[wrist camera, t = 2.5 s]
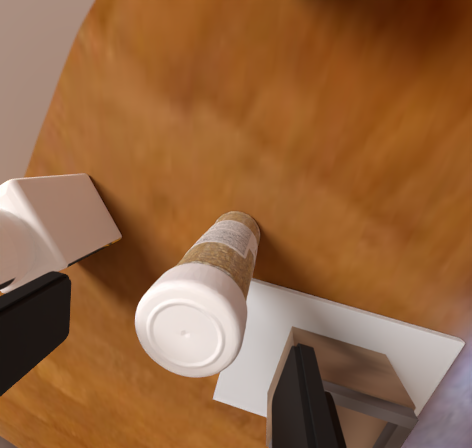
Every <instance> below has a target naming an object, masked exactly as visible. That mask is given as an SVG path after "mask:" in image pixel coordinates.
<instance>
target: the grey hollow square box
mask: <svg viewBox="0 0 472 448" xmlns="http://www.w3.org/2000/svg"><path fill="white" fill-rule="evenodd" d="M298 343H300V344H304V345H307V346H310V347H313V348H314V351H315V355H316V359H317V363H318V367H319V371H320V375H321V379H322V383H323V387H324V391H327V392H330V393H331V395H332V397H333V400H334V403H335V406H336V410H337V414H338V417H339V421H340V425H341V428H342V432H343V436H344V439H345V443H346V446H347V448H400V447H401V446H402V444H403V443H404V441H405V440H406V438H407V437H408V435H409V434H410V432H411V431H412V429H413V428H414V426H415V425H416V423H417V422H418V418H417V416H416V415H415V413H414V410H415V409H416V407H415V405H414V403H413V401H412V400H411V398H410V396H409V394H408V393H407V391H406V389H405V387H404V386H403V384H402V382H401V380H400V379H399V377H398V375H397V373H396V372H395V370H394V368H393V366H392V365H391V363H390V361H389V359H388V358H387V356H386V354H382V353H379V352H376V351H372V350H369V349H366V348H363V347H359V346H356V345H353V344H349V343H346V342H343V341H340V340H336V339H333V338H330V337H326V336H323V335H320V334H316V333H313V332H310V331H307V330H303V329H300V328H297V327H293V326H292V328H291V330H290V333H289V336H288V338H287V341H286V344H285V347H284V349H283V352H282V355H281V357H280V360H279V363H278V365H277V368H276V371H275V374H274V376H273V379H272V382H271V384H270V387H269V390H268V392H267V428H266V446H268V447H269V448H272V398H273V395H274V392H275V389H276V386H277V384H278V381H279V378H280V376H281V373H282V370H283V368H284V365H285V362H286V360H287V357H288V354H289V352H290V349H291V347H292V346H296V345H297V344H298Z"/></svg>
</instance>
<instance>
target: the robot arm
mask: <svg viewBox="0 0 472 448" xmlns="http://www.w3.org/2000/svg"><path fill="white" fill-rule="evenodd" d="M70 299H71V280H69V277H68V275H66V274H63V273H59V272H56V271H50V272H48V273H46V274H44V275H42V276H40V277H38V278H36V279H34V280H32V281H30V282H28V283H26V284H24V285H22V286H20V287H18V288H16V289H14V290H12V291H10V292H8V293H6V294H4V295H2V296H0V396H2V395H3V394H4V393H5V392H6V391H7V390H8V389H10V388H11V387H12V386H13V385H14V384H15V383H16V382H18V381H19V380H20V379H21V378H22V377H23V376H24V375H26V374H27V373H28V372H29V371H30V370H31V369H32V368H34V367H35V366H36V365H37V364H38V363H39V362H40V361H42V360H43V359H44V358H45V357H46V356H47V355H48V354H50V353H51V352H52V351H53V350H54V349H55V348H56V347H58V346H59V345H60V344H61V343H62V342H63V341H64V340H65V339H66V338H67V336H68V334H69V323H70ZM272 448H347V446H346V443H345V439H344V436H343V432H342V428H341V425H340V421H339V417H338V414H337V410H336V406H335V403H334V400H333V397H332V395H331V393H330V392H327V391H324V387H323V383H322V379H321V375H320V371H319V367H318V363H317V359H316V355H315V351H314V348H313V347H310V346H307V345H304V344H300V343H298V344H297V345H296V346H292V347H291V349H290V352H289V354H288V357H287V360H286V362H285V365H284V368H283V370H282V373H281V376H280V378H279V381H278V384H277V386H276V389H275V392H274V395H273V398H272Z"/></svg>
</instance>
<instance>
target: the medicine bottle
mask: <svg viewBox="0 0 472 448" xmlns="http://www.w3.org/2000/svg"><path fill="white" fill-rule="evenodd" d="M121 238H122V235H121V233H120V231H119V230H118V228H117V226H116V224H115V223H114V221H113V219H112V217H111V215H110V214H109V212H108V210H107V208H106V206H105V205H104V203H103V201H102V199H101V197H100V196H99V194H98V192H97V190H96V188H95V187H94V185H93V183H92V181H91V179H90V178H89V176H88V175H87V174H71V175H58V176H44V177H31V178H18V179H10V180H8V181H6V182H5V183H3V184H2V185H0V291H1V292H2V293H8V292H10V291H12V290H14V289H16V288H18V287H20V286H22V285H24V284H26V283H28V282H30V281H32V280H34V279H36V278H38V277H40V276H42V275H44V274H46V273H48V272H50V271H56V272H58V271H60V270H62V269H65V268H67V267H69V266H71V265H73V264H75V263H76V262H78V261H80V260H82V259H84V258H86V257H88V256H90V255H92V254H94V253H96V252H98V251H99V250H101V249H103V248H105V247H107V246H109V245H111V244H113V243H115V242H117V241H119V240H120V239H121Z"/></svg>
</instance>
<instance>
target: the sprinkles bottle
mask: <svg viewBox="0 0 472 448" xmlns="http://www.w3.org/2000/svg"><path fill="white" fill-rule="evenodd" d="M259 242H260V230H259V227H258V225H257V223H256V222H255V220H254V219H253V218H252V217H251V216H250V215H248V214H245V213H243V212H239V211H231V212H228V213H225V214H223V215H222V216H220V217H219V218H218V219H217V221H216V222H215V224H214V225H213V226H212V227H211V228H210V229H209V230H208V231H207V232H206V233H205V234H204V235H203V236H202V237H201V238H200V239H199V240H198V241H197V242H196V243H195V244H194V245H193V246H192V247H191V249H190V250H189V251H188V252H187V253H186V254H185V256H184V257H183V259H182V260H181V261H180V262H179V263H178V264H177V265H176V266H175V267H173V268H171V269H170V270H168V271H167V272H165V273H164V274H163V275H162V276H161V277H160V278H159V279H158V280H157V281H156V282H155V283H154V284H153V285H152V286H151V287H150V289H149V290H148V291H147V292H146V293H145V294H144V296H143V297H142V299H141V300H140V302H139V304H138V307H137V310H136V315H135V327H136V333H137V336H138V339H139V341H140V343H141V345H142V347H143V348H144V350H145V351H146V352H147V354H148V355H149V356H150V357H151V358H152V359H153V360H154V361H155V362H156V363H158V364H159V365H160V366H162V367H163V368H165V369H167V370H169V371H171V372H173V373H176V374H179V375H182V376H187V377H206V376H211V375H214V374H217V373H219V372H221V371H223V370H224V369H226V368H227V367H229V366H230V365H231V364H232V363H233V361H234V360H235V359H236V357H237V356H238V354H239V352H240V350H241V347H242V343H243V339H244V334H245V329H246V322H247V314H248V311H247V304H246V300H247V295H248V291H249V287H250V282H251V279H252V276H253V270H254V266H255V261H256V256H257V249H258V245H259Z"/></svg>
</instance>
